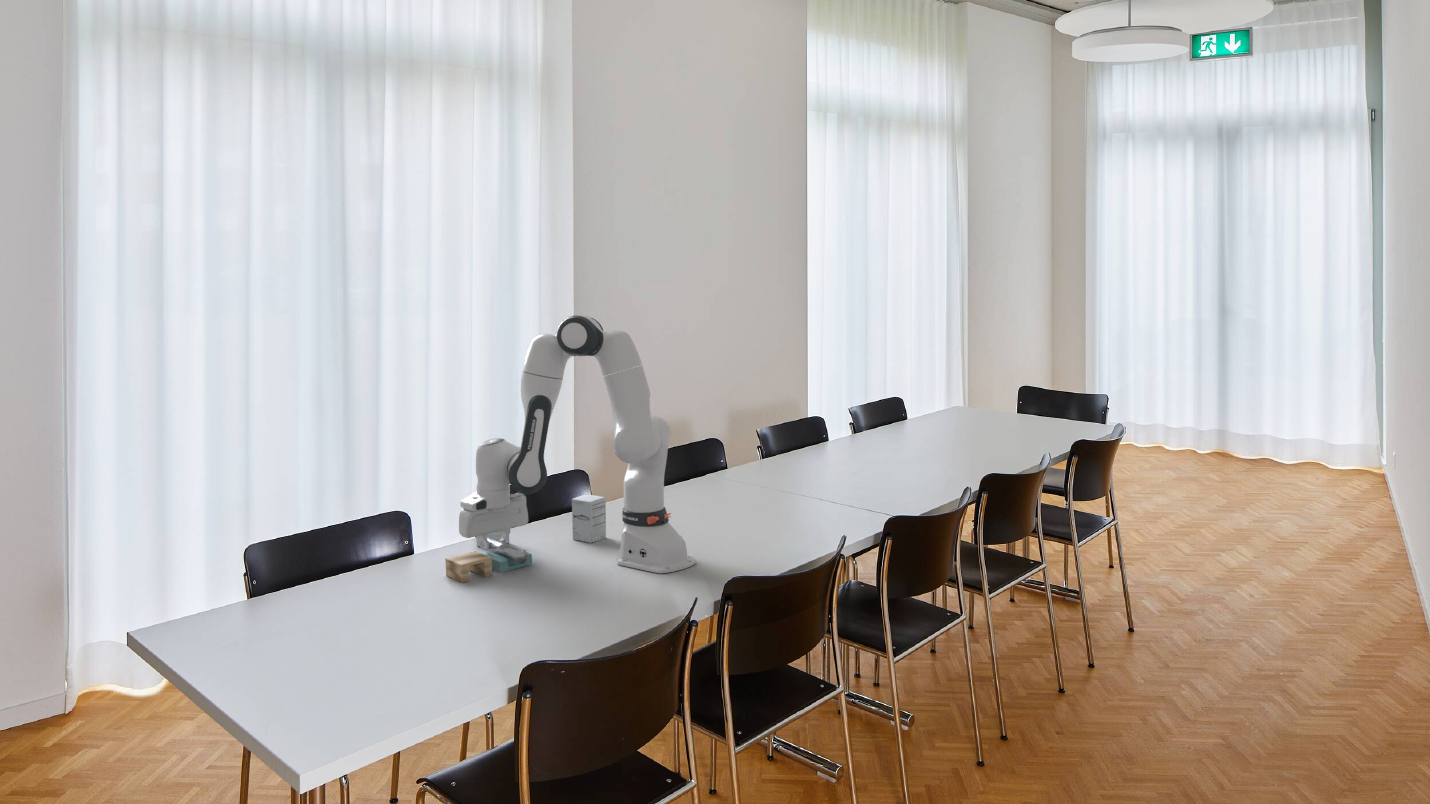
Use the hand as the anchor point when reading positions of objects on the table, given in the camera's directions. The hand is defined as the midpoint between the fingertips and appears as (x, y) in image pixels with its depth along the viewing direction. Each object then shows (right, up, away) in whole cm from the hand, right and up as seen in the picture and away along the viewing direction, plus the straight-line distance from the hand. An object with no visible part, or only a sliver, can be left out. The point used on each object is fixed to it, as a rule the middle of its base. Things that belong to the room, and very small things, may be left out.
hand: (495, 546), depth 265 cm
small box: (-4, -2, +16) cm, 17 cm away
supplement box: (+23, -1, +21) cm, 31 cm away
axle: (+3, -2, -2) cm, 4 cm away
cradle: (+3, -4, -2) cm, 6 cm away
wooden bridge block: (-4, -6, -12) cm, 14 cm away
